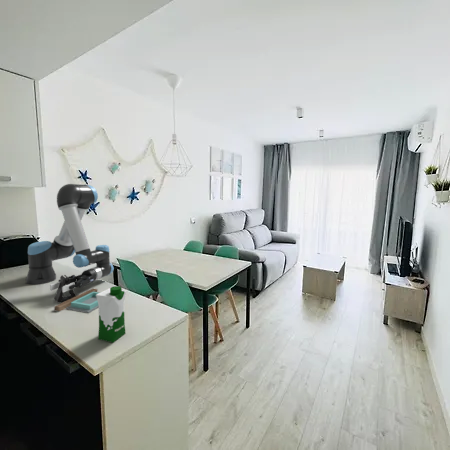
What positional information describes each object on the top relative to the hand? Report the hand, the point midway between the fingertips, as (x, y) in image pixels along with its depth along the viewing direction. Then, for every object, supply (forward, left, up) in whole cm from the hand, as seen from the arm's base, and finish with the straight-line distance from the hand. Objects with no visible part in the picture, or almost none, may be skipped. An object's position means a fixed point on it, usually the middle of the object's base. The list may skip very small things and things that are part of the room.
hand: (56, 288), depth 126 cm
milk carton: (+45, -17, -7) cm, 49 cm away
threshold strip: (+8, +5, -7) cm, 12 cm away
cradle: (+16, +5, -7) cm, 18 cm away
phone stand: (0, +5, -7) cm, 9 cm away
